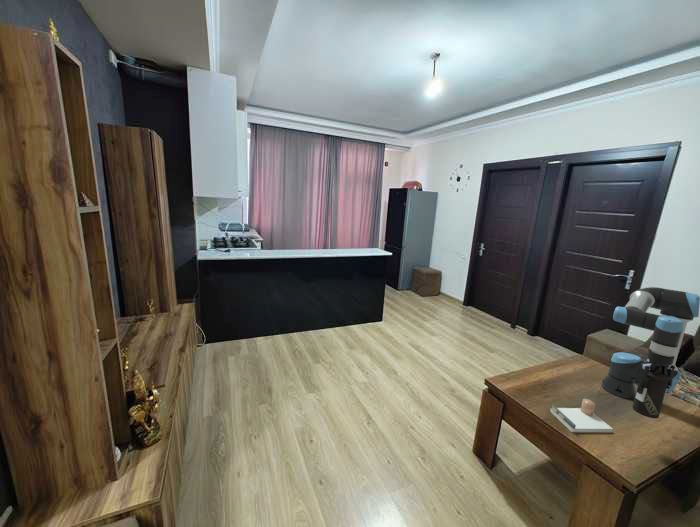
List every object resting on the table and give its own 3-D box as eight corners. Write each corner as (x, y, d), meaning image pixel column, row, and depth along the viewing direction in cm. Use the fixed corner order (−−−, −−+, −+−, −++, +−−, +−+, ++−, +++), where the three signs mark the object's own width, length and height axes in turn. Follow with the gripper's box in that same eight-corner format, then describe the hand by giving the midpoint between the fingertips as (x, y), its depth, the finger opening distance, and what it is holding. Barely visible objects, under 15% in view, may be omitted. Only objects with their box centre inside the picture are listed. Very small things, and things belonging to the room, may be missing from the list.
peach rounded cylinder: (587, 408, 147) (589, 398, 146) (595, 415, 142) (598, 405, 141) (578, 408, 147) (580, 398, 146) (586, 415, 142) (588, 405, 141)
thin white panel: (586, 411, 148) (587, 405, 147) (611, 432, 134) (613, 425, 134) (549, 411, 147) (550, 404, 146) (571, 432, 133) (573, 425, 133)
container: (626, 405, 130) (636, 366, 126) (642, 405, 131) (653, 365, 127) (647, 419, 121) (659, 377, 117) (665, 418, 122) (677, 377, 118)
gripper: (673, 348, 125) (659, 393, 129) (630, 348, 123) (618, 394, 128) (694, 357, 118) (679, 405, 122) (649, 357, 116) (636, 405, 120)
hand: (648, 399), depth 125 cm, fingers closed on container, 8 cm apart
